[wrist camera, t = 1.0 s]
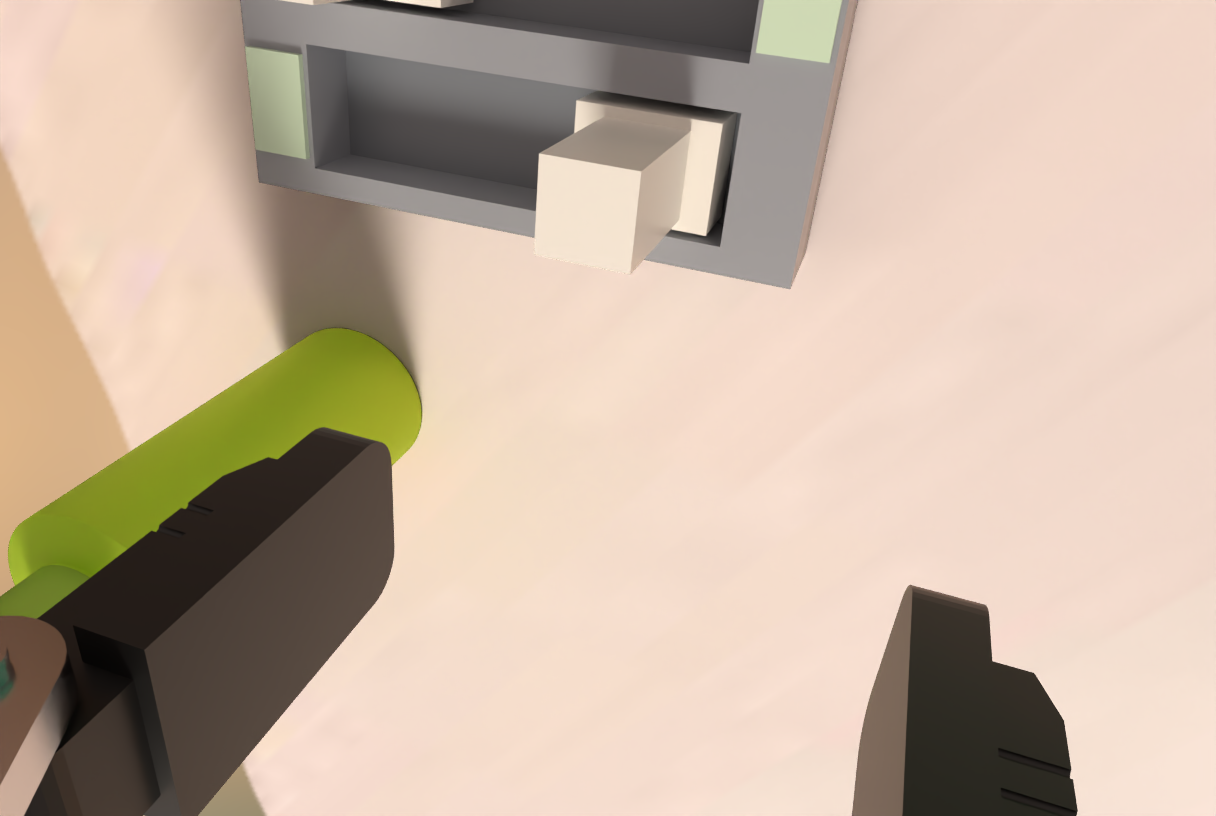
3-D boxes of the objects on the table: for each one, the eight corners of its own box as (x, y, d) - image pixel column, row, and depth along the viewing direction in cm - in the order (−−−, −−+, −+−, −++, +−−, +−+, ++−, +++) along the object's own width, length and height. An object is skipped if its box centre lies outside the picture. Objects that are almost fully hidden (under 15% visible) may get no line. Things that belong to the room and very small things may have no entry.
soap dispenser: (288, 285, 34) (-338, 630, 18) (442, 380, 34) (-44, 822, 17) (255, 398, 38) (-301, 781, 21) (396, 486, 37) (-52, 945, 21)
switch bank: (884, -127, 23) (875, -134, 20) (805, 253, 28) (789, 291, 25) (294, -182, 27) (215, -194, 24) (317, 160, 31) (254, 183, 29)
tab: (737, 110, 25) (678, 164, 19) (721, 216, 26) (662, 293, 21) (600, 88, 26) (506, 134, 20) (591, 192, 27) (502, 260, 22)
